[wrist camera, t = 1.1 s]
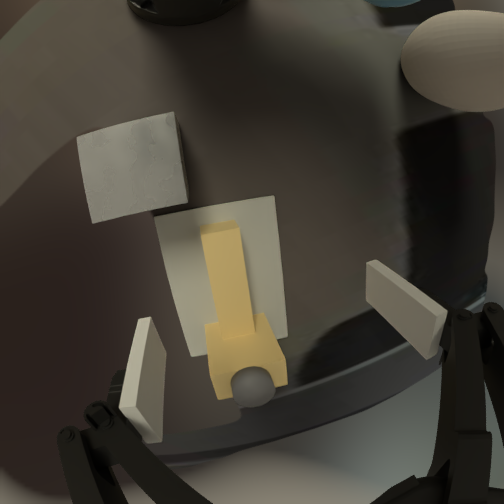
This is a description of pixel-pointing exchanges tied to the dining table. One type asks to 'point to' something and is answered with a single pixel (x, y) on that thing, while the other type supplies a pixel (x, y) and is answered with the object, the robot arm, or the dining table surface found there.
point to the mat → (196, 274)
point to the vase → (458, 60)
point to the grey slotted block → (133, 167)
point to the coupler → (238, 325)
